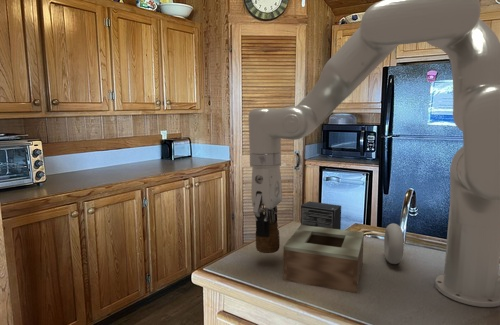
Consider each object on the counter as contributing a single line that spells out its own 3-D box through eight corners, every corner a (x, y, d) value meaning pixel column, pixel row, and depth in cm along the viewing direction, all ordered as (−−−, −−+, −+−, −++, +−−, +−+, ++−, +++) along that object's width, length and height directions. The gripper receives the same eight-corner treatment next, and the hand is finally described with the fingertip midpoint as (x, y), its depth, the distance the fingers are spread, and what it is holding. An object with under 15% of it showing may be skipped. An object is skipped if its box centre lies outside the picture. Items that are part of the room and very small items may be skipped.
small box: (341, 239, 107) (342, 204, 105) (334, 246, 101) (335, 210, 100) (308, 232, 112) (309, 200, 111) (299, 239, 107) (300, 204, 105)
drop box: (362, 262, 90) (363, 232, 89) (356, 292, 76) (357, 256, 74) (300, 253, 96) (300, 224, 95) (283, 279, 81) (283, 246, 80)
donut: (404, 271, 85) (406, 231, 84) (388, 270, 86) (390, 230, 84) (395, 255, 95) (398, 218, 93) (382, 254, 96) (384, 217, 94)
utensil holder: (263, 256, 85) (262, 207, 84) (251, 247, 91) (249, 201, 89) (284, 250, 88) (283, 203, 86) (271, 243, 94) (269, 198, 92)
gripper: (268, 165, 77) (270, 246, 80) (290, 155, 93) (291, 223, 95) (236, 164, 80) (239, 242, 82) (262, 155, 96) (264, 221, 98)
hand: (267, 231), depth 89 cm, fingers closed on utensil holder, 5 cm apart
